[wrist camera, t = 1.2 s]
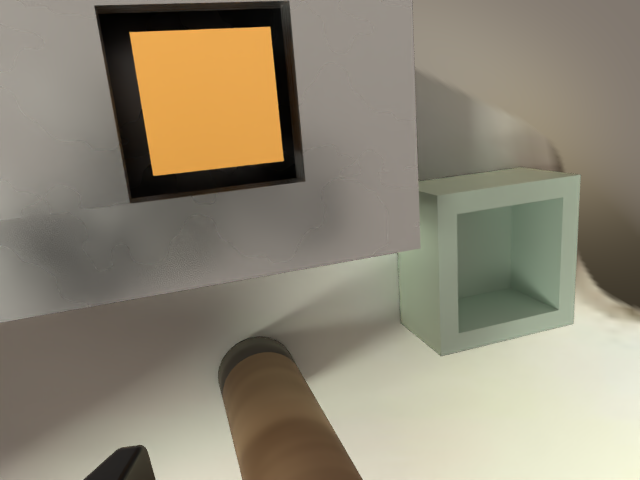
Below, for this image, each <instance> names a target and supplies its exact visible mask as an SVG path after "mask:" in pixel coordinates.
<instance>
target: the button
mask: <svg viewBox="0 0 640 480" xmlns="http://www.w3.org/2000/svg"><path fill="white" fill-rule="evenodd" d="M129 33H130V39H131V45H132V51H133V57H134V63H135V69H136V75H137V81H138V87H139V93H140V99H141V105H142V111H143V117H144V123H145V129H146V135H147V141H148V147H149V153H150V159H151V165H152V171H153V176H158V175H166V174H175V173H184V172H193V171H201V170H210V169H219V168H228V167H236V166H245V165H254V164H263V163H271V162H280V161H284V158H283V149H282V139H281V129H280V119H279V109H278V99H277V89H276V79H275V69H274V59H273V49H272V39H271V29H270V27H252V28H226V29H200V30H175V31H149V32H129Z"/></svg>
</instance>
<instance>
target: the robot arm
mask: <svg viewBox="0 0 640 480" xmlns="http://www.w3.org/2000/svg"><path fill="white" fill-rule="evenodd" d="M84 480H156V479H155V476H154V472H153V469H152V465H151V462H150V458H149V455H148V452H147V449H146V448H145V447H144V446H142V445H137V446H130V447H122V448H119V449H118V450H116V451H115V452H114V453H113V454H112V455H110V456H109V457H108V458H107V459H106V460H105V461H104V462H103V463H102V464H100V465H99V466H98V467H97V468H96V469H95V470H94V471H93V472H92V473H90V474H89V475H88V476H87V477H86V478H85V479H84Z"/></svg>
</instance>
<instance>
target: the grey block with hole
mask: <svg viewBox="0 0 640 480" xmlns="http://www.w3.org/2000/svg"><path fill="white" fill-rule="evenodd" d="M252 27H270V29H271V39H272V49H273V59H274V69H275V79H276V89H277V99H278V109H279V119H280V129H281V139H282V149H283V158H284V161H280V162H271V163H263V164H254V165H245V166H236V167H228V168H219V169H210V170H201V171H193V172H184V173H175V174H166V175H158V176H153V171H152V165H151V159H150V153H149V147H148V141H147V135H146V129H145V123H144V117H143V111H142V105H141V99H140V93H139V87H138V81H137V75H136V69H135V63H134V57H133V51H132V45H131V39H130V33H129V32H149V31H175V30H200V29H226V28H252ZM420 248H421V245H420V215H419V185H418V155H417V125H416V95H415V65H414V37H413V5H412V0H0V323H2V322H7V321H13V320H19V319H24V318H30V317H36V316H41V315H47V314H53V313H58V312H64V311H70V310H75V309H81V308H87V307H92V306H98V305H104V304H109V303H115V302H121V301H126V300H132V299H137V298H143V297H149V296H154V295H160V294H166V293H171V292H177V291H183V290H188V289H194V288H200V287H205V286H211V285H217V284H222V283H228V282H234V281H239V280H245V279H251V278H256V277H262V276H268V275H273V274H279V273H285V272H290V271H296V270H302V269H307V268H313V267H319V266H324V265H330V264H336V263H341V262H347V261H353V260H358V259H364V258H370V257H375V256H381V255H386V254H392V253H398V252H403V251H409V250H415V249H420Z"/></svg>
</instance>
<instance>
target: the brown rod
mask: <svg viewBox="0 0 640 480" xmlns="http://www.w3.org/2000/svg"><path fill="white" fill-rule="evenodd" d="M218 381H219V385H220V389H221V394H222V398H223V402H224V406H225V410H226V414H227V418H228V422H229V426H230V431H231V435H232V439H233V443H234V447H235V451H236V455H237V459H238V463H239V467H240V472H241V476H242V480H362V478H361V476H360V474H359V473H358V471H357V469H356V467H355V466H354V464H353V462H352V461H351V459H350V457H349V455H348V454H347V452H346V450H345V448H344V447H343V445H342V443H341V441H340V440H339V438H338V436H337V435H336V433H335V431H334V429H333V428H332V426H331V424H330V422H329V421H328V419H327V417H326V416H325V414H324V412H323V410H322V409H321V407H320V405H319V403H318V402H317V400H316V398H315V397H314V395H313V393H312V391H311V390H310V388H309V386H308V384H307V383H306V381H305V379H304V378H303V376H302V374H301V372H300V371H299V369H298V367H297V365H296V364H295V362H294V360H293V358H292V357H291V355H290V353H289V352H288V350H287V349H286V348H285V347H284V346H283V345H282V344H281V343H280V342H278V341H276V340H274V339H271V338H267V337H254V338H249V339H246V340H244V341H242V342H240V343H238V344H236V345H235V346H234V347H232V348H231V349H230V350H229V351H228V352H227V354H226V355H225V356H224V358H223V360H222V362H221V364H220V367H219V372H218Z"/></svg>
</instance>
